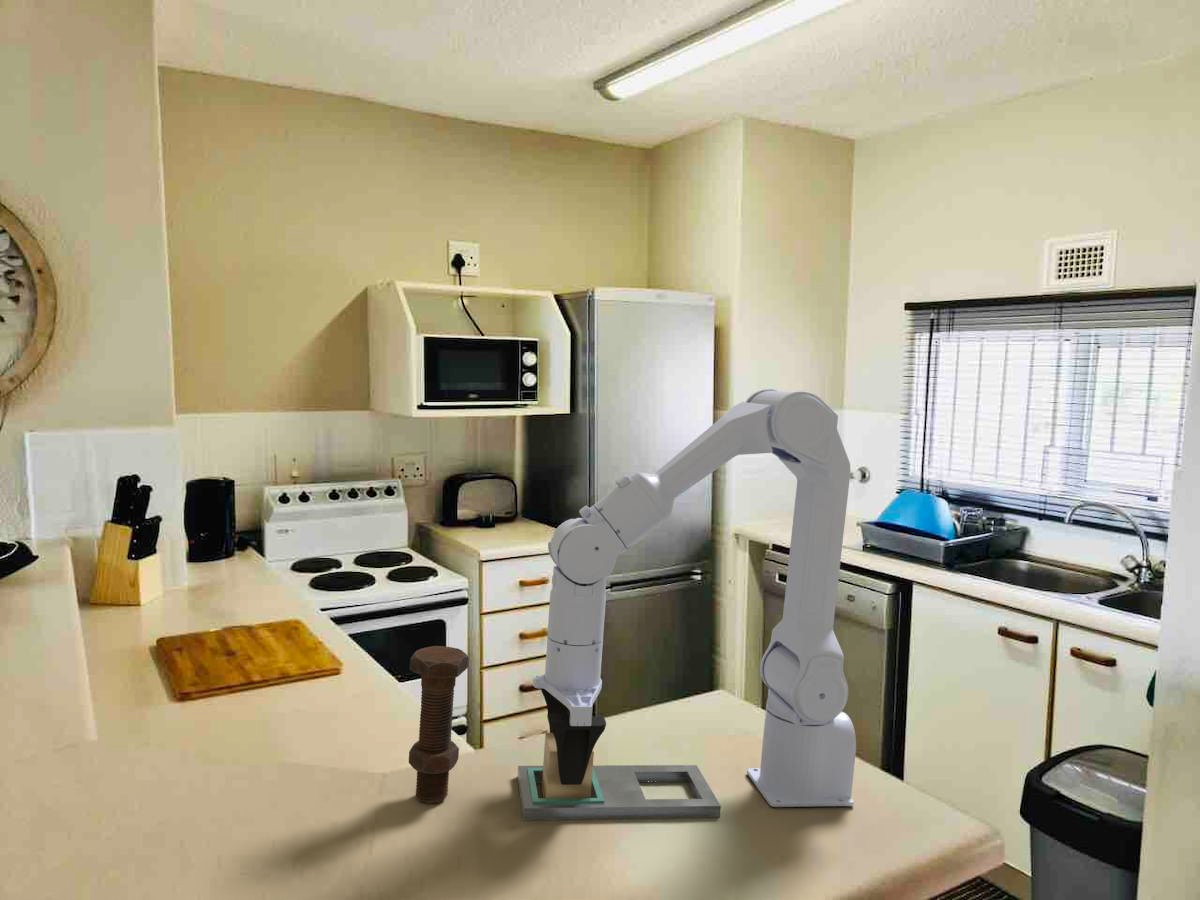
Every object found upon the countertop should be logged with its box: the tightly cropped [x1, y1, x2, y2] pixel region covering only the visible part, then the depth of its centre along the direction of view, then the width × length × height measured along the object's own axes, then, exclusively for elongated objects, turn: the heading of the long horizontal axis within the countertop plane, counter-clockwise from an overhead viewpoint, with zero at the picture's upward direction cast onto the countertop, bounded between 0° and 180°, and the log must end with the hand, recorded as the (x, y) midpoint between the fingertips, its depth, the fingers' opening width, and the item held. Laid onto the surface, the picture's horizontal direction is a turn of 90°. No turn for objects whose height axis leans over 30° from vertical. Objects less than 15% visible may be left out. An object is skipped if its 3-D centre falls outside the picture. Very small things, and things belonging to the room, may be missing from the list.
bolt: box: [408, 645, 470, 804], centre depth 85 cm, size 6×5×15 cm
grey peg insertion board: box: [517, 764, 722, 821], centre depth 88 cm, size 20×9×1 cm, turn 99°
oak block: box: [541, 732, 595, 798], centre depth 87 cm, size 4×4×6 cm
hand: (566, 765), depth 87 cm, fingers open, 7 cm apart
